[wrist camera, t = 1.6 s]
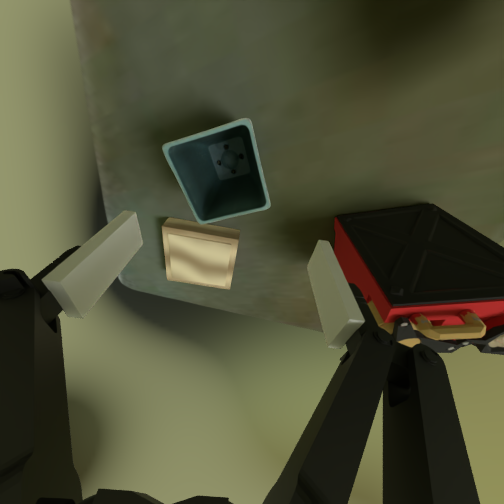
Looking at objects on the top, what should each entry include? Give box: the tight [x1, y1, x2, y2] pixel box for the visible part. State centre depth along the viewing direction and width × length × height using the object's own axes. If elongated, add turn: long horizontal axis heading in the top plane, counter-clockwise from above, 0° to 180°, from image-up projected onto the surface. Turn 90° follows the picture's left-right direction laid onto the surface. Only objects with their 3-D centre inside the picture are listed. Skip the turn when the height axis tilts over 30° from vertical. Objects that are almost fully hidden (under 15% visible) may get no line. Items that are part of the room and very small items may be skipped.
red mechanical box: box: [334, 204, 504, 355], centre depth 26 cm, size 16×10×20 cm, turn 100°
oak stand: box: [162, 217, 240, 289], centre depth 36 cm, size 12×12×3 cm
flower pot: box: [162, 118, 271, 225], centre depth 24 cm, size 9×9×9 cm
